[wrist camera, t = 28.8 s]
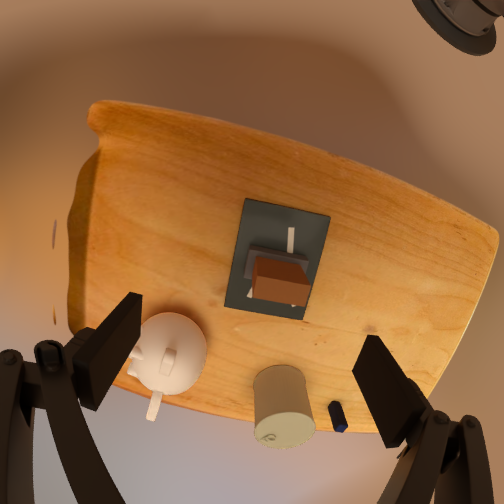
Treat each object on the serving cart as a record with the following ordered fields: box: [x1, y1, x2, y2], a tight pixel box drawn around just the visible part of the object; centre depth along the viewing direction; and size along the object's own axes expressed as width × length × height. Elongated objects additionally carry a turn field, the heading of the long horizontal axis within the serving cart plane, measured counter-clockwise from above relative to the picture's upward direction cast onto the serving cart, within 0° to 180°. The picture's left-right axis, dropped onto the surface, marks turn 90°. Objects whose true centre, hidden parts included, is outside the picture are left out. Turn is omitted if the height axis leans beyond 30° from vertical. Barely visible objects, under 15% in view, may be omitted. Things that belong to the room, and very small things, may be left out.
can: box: [253, 365, 316, 449], centre depth 43 cm, size 9×9×12 cm
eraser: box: [328, 401, 348, 433], centre depth 47 cm, size 2×2×7 cm
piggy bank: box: [127, 312, 207, 422], centre depth 39 cm, size 12×12×15 cm
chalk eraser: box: [244, 245, 311, 307], centre depth 37 cm, size 4×8×10 cm, turn 78°
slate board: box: [224, 198, 331, 320], centre depth 42 cm, size 16×12×1 cm
